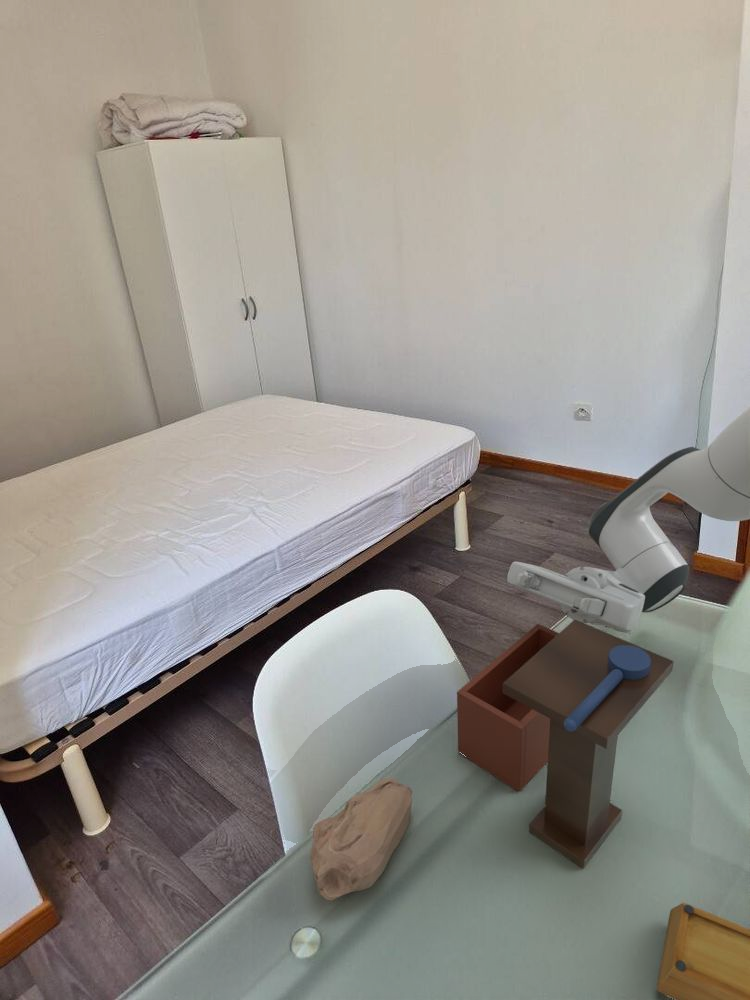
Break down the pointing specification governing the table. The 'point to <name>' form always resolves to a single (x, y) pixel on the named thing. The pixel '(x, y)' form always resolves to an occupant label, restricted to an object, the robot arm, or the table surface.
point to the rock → (360, 839)
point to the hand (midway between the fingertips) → (548, 591)
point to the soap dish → (704, 957)
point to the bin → (504, 717)
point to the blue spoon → (612, 680)
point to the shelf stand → (580, 734)
